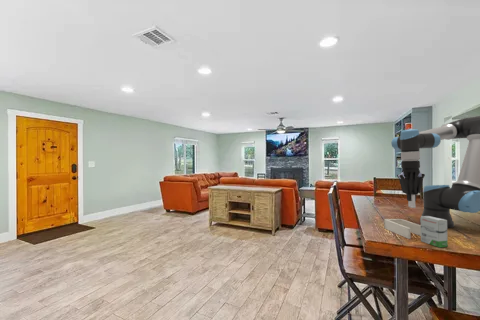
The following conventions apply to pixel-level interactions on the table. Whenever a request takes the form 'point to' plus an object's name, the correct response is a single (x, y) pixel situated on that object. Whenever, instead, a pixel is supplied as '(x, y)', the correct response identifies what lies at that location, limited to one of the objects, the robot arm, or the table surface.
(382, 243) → the table surface
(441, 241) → the ink box
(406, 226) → the white u-shaped frame
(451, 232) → the table surface
